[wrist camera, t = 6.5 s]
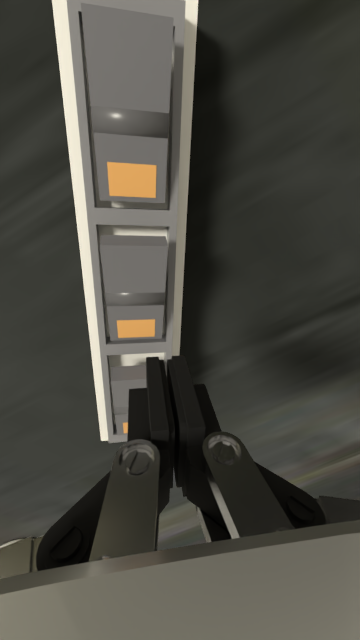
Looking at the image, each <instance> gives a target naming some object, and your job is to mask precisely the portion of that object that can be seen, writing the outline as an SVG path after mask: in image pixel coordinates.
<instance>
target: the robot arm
mask: <svg viewBox="0 0 360 640" xmlns="http://www.w3.org/2000/svg"><path fill="white" fill-rule="evenodd" d="M173 467H174V472H175V480H176V486H177V487H182V491H183V497H185V496H187V499H188V500H189V501H191V502H192V503H193V504H195V505H196V510H197V515H198V518H199V521H200V524H201V527H202V530H203V532H204V535H205V538H206V541H207V543H203V544H197V545H191V546H184V547H178V548H172V549H166V550H159V551H157V548H158V532H159V514H160V513H161V512H162V510H163V509H164V508H165V506H166V505H167V504H168V502H169V493H170V488H173ZM0 640H360V500H353V499H344V498H336V497H327V496H319V498H318V499H315V498H313V497H312V496H310V495H309V494H307V493H306V492H305V491H303V490H301V489H300V488H298V487H296V486H295V485H293V484H291V483H289V482H288V481H286V480H284V479H283V478H281V477H279V476H278V475H276V474H274V473H273V472H271V471H269V470H268V469H266V468H264V467H262V466H261V465H259V464H257V463H256V462H254V461H253V459H252V458H251V456H250V454H249V453H248V451H247V449H246V448H245V446H244V444H243V443H242V442H241V441H240V439H238V438H237V437H236V436H234V435H232V434H230V433H227V432H221V429H220V426H219V423H218V420H217V417H216V415H215V412H214V409H213V406H212V403H211V401H210V398H209V395H208V392H207V389H206V387H205V385H204V384H195V385H193V382H192V379H191V376H190V372H189V369H188V365H187V362H186V359H185V356H184V355H179V356H172V358H171V359H167V377H166V371H165V365H164V360H159V357H146V388H135V389H129V401H128V436H127V443H125V444H124V445H122V446H121V447H120V448H119V449H118V451H117V452H116V454H115V457H114V460H113V464H112V468H111V471H110V472H109V473H108V474H107V475H106V476H105V477H104V478H102V479H101V480H100V481H99V482H98V483H97V484H96V485H95V486H94V487H93V488H92V489H91V490H90V491H89V492H88V493H87V494H86V495H85V496H83V497H82V498H81V499H80V500H79V501H78V502H77V503H76V504H75V505H74V506H73V507H72V508H71V509H70V510H69V511H68V512H67V513H66V514H64V515H63V516H62V517H61V518H60V519H59V520H58V521H57V522H56V523H55V524H54V525H53V526H52V527H51V528H50V529H49V530H48V531H47V533H46V534H45V535H43V536H41V537H38V538H36V539H32V536H31V537H28V538H25V539H23V540H20V541H17V542H15V543H12V544H9V545H7V546H4V547H1V548H0Z"/></svg>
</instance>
